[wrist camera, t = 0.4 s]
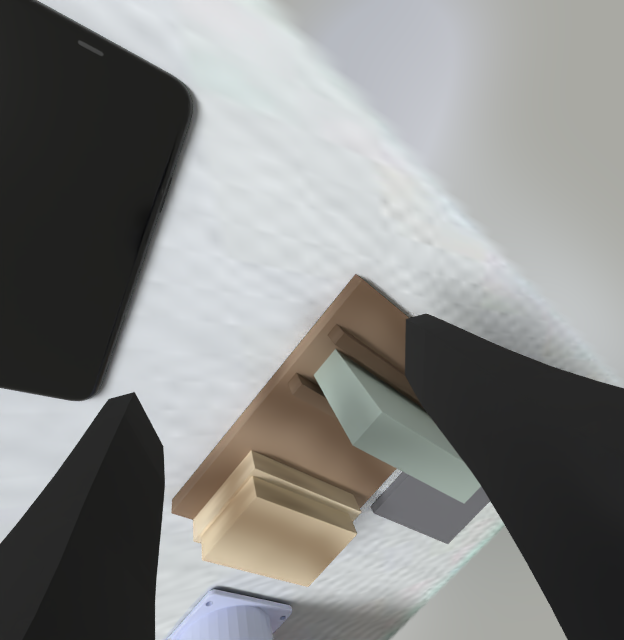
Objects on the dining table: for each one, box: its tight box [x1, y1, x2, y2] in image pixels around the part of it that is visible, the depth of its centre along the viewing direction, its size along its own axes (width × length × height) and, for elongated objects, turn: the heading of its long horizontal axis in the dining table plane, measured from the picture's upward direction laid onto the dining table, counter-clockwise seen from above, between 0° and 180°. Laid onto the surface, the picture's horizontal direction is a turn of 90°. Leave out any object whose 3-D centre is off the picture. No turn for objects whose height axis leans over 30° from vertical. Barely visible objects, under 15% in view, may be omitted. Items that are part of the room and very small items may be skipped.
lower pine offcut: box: [193, 450, 361, 544], centre depth 25 cm, size 6×9×2 cm, turn 49°
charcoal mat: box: [371, 472, 490, 544], centre depth 31 cm, size 12×10×1 cm
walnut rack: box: [172, 274, 423, 520], centre depth 24 cm, size 18×12×2 cm, turn 139°
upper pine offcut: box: [201, 476, 357, 587], centre depth 23 cm, size 5×8×2 cm, turn 49°
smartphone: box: [0, 0, 193, 401], centre depth 16 cm, size 8×1×16 cm
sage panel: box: [314, 349, 481, 503], centre depth 21 cm, size 2×9×6 cm, turn 50°
